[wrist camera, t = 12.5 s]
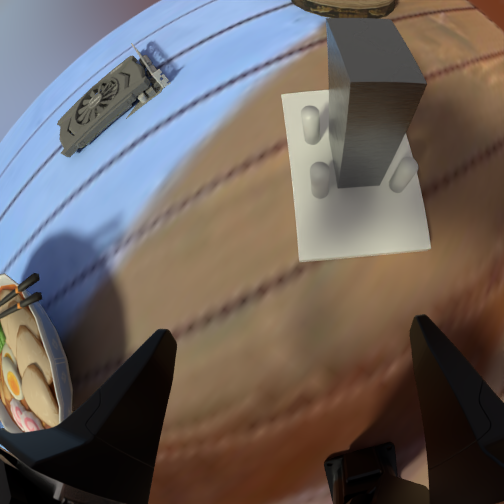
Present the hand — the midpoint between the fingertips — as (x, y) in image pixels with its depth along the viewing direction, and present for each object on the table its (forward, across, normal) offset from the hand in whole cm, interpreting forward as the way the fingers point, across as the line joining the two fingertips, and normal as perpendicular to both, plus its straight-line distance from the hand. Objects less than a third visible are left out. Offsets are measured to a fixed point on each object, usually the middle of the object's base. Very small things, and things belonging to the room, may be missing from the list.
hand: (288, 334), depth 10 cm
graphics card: (+30, +23, -10) cm, 39 cm away
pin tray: (+18, -5, +1) cm, 19 cm away
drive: (+17, -5, 0) cm, 18 cm away
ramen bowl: (+5, +32, +15) cm, 36 cm away
